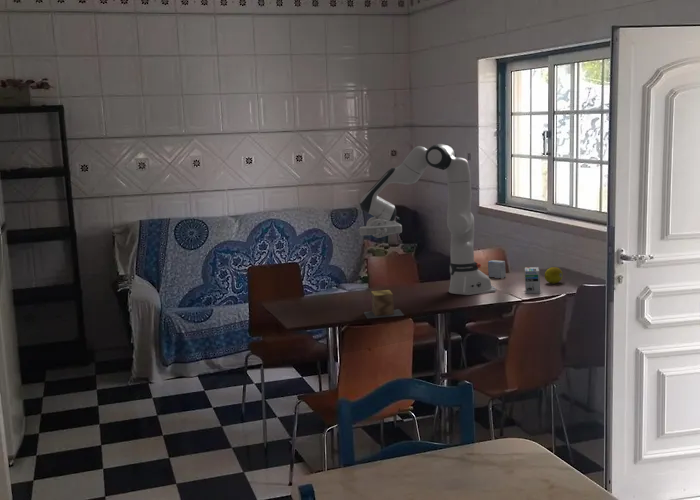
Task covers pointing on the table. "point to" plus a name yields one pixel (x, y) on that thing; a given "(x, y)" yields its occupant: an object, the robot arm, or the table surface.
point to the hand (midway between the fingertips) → (382, 231)
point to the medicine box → (496, 269)
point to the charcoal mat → (372, 315)
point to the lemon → (553, 275)
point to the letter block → (382, 302)
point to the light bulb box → (532, 280)
